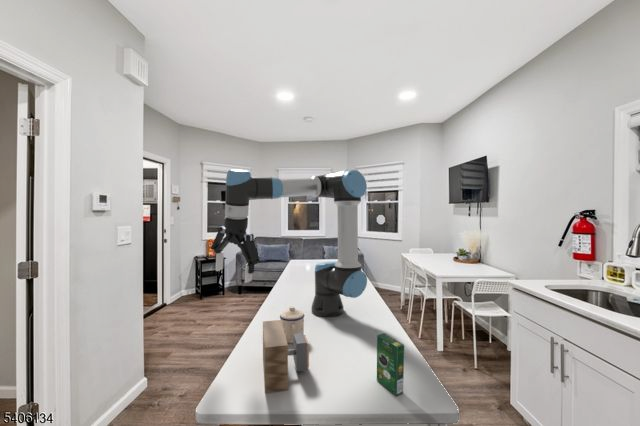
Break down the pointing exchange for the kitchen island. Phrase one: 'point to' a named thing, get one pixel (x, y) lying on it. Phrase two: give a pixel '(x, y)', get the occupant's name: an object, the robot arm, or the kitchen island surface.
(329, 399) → the kitchen island surface
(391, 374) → the coffee box
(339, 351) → the kitchen island surface
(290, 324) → the teacup with lid
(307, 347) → the gray housing block
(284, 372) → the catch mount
